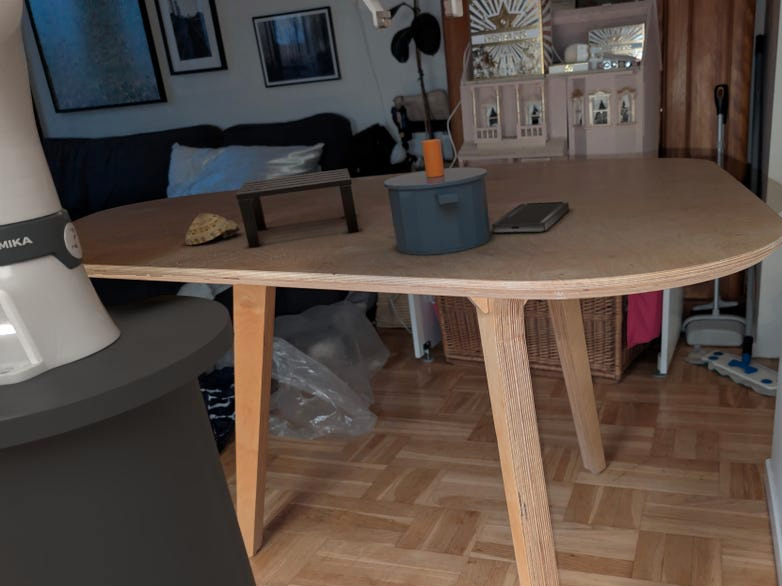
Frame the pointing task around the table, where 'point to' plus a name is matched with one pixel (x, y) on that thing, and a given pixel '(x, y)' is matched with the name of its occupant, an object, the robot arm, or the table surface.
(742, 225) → the table surface
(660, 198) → the table surface
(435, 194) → the pot
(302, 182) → the rack
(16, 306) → the robot arm
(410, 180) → the lid
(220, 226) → the seashell
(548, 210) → the phone
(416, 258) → the table surface
